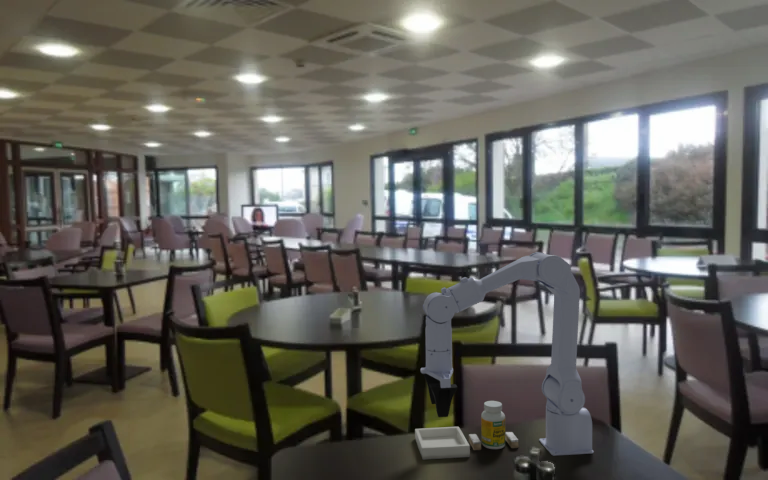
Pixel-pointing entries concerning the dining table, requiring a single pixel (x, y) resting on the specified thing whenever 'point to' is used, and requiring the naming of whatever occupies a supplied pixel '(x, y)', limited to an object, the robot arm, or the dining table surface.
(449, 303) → the robot arm
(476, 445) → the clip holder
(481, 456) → the dining table surface
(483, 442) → the supplement bottle
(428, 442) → the tray
